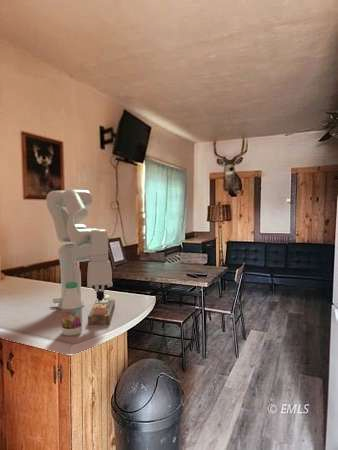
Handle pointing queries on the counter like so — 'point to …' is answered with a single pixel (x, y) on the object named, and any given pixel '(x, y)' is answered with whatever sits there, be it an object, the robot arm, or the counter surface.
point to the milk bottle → (71, 311)
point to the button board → (101, 316)
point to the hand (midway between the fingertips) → (100, 300)
